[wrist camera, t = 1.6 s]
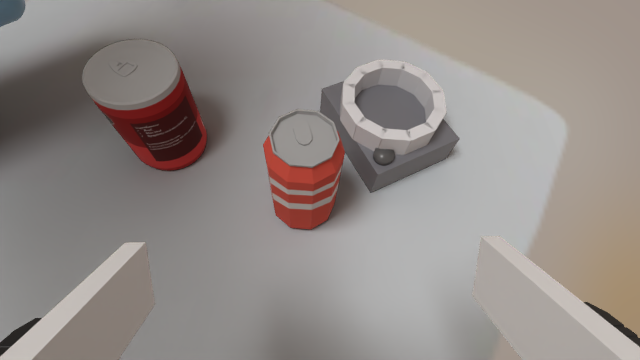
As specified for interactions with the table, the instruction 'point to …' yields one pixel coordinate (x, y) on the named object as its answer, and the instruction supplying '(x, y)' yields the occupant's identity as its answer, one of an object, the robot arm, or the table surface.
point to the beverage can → (304, 167)
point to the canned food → (147, 102)
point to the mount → (389, 120)
